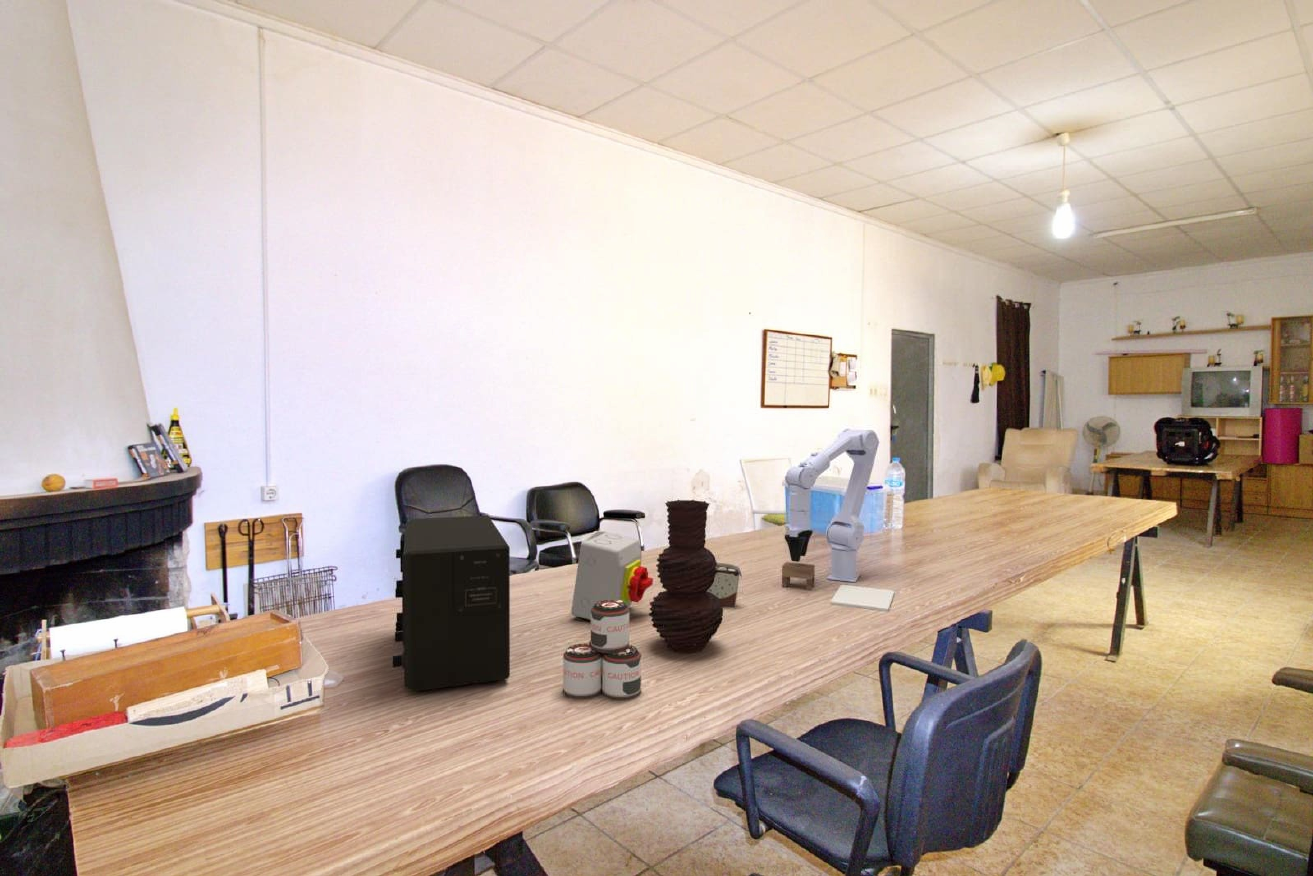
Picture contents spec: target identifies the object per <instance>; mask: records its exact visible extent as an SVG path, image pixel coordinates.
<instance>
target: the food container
mask: <svg viewBox="0 0 1313 876" xmlns="http://www.w3.org/2000/svg"><path fill="white" fill-rule="evenodd" d="M740 569H741V568H740V567H739V566H738V565H734V564H730V563H724V562H717V566H716V576H715V578H714V583H713V585H712V586H711V587H710V589H709V590H707V591H708V592H710V593H712V594H714V595H716V596H717V597H718V598H719V600H720V601H721V605H722V608H723V609H730V608H733V609H734V610H735V609H736V607H737V600H738V599H737V598H738V589H739V580H740V578H742V577H743V576H742V575H743V574H742V571H741V570H740ZM733 609H732V610H733Z"/></svg>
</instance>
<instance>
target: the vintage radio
mask: <svg viewBox="0 0 1313 876" xmlns="http://www.w3.org/2000/svg"><path fill="white" fill-rule="evenodd" d="M404 531H405V532H404V534H400V540H399V546H400V547H399V548H397V549H395V559H400V562H399V563H400V566H399V567H400V570H399V571H400V573H402V574H401V577H402V578H401V580H400V579H399V580H396V582H395V583H396V584H395V585H396V586H395V589H394V590H395V593H394V594H395V595H394V596H395V599H399V598H401V607H402V608H401V610H402V612H396V621H395V632H394V643H399V642H401V643H402V646H403V652H402V654H401V655H400V654H399V655H392V668H400V667H401V668H402V669H403V671H404V673H403V677H404V678H403V681H404V683H403V684H404V687H405V688H406V689H407V690H410V691H411V692H418V693H419V692H425V691H428V690H433V689H440V688H448V687H455V686H457V687H458V686H464V685H471V684H472V685H473V684H479V683H485V682H487V683H494V682H497V681H501V680H508V679H509V678H510V676H511V671H510V670H511V669H510V668H511V665H510V664H511V661H510V660H511V658H510V657H511V656H510V654H511V653H510V652H511V650H510V648H511V647H510V646H511V642H510V641H511V640H510V639H511V638H510V637H511V633H510V631H511V630H510V629H511V628H510V622H511V621H510V620H511V619H510V618H511V615H510V613H511V606H510V605H511V603H510V602H511V601H510V599H511V597H510V596H511V595H510V593H511V592H510V591H511V589H510V587H511V584H510V583H511V582H510V578H511V577H510V573H511V572H510V569H511V568H510V567H511V566H510V563H511V562H510V560H511V559H510V558H511V557H510V554H511V549H510V546H509V544H508V543H507V541H506V540H505V538H504V537H503V535H502V533H501V532H500V531H499V529H498V528H497V526H496V525H495V523H494V522H493V520H492V519H491V517H490V516H489V515H469V516H468V515H467V516H449V517H428V518H427V517H425V518H411V519H410V520H409V521H407V522H405V528H404Z"/></svg>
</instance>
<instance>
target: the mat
mask: <svg viewBox="0 0 1313 876" xmlns="http://www.w3.org/2000/svg"><path fill="white" fill-rule="evenodd" d="M895 593H896V591H895V590H890V589H889V590H888V589H883V588H882V589H881V588H873V587H864V586H855V585H847V584H841V585H840V586H839V588H838V589H837V591H836V592H835V594H834V595H833V597H832V598H831V600H830V602H829V603H830V605H836V606H845V607H852V608H860V609H869V610H875V611H885V612H889V610H890V607H891V605H892V601H893V598H894V596H895Z"/></svg>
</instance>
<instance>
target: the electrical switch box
mask: <svg viewBox="0 0 1313 876" xmlns="http://www.w3.org/2000/svg"><path fill="white" fill-rule="evenodd" d="M579 548H580V549H579V556H578V562H577V563H578V564H577V570H576V576H575V583H574V591H573V596H572V603H571V604H572V605H571V611H570V614H571V615H572V616H575V617H579V618H582V619H586V620H589V621H591V609H592V607H593V606H594V605H595V603H597V602H599V601H603V600H618V601H619V600H621V601H623V602H624V603H625V604H626V606H627V607H628V608H629V609H630V606H631V605H632V603H633V602H634V603H639V602H640V601H642V599H643V597H644V594H645V592H646V590H648V588H650V587H651V586H652V585H653V584H654V583H653V582H654V578H653V577H649V572H648V568H647V567H645V566H641V563H642V554H643V553H642V547H641V542H640V539H637V538H635V537H631V536H626V535H622V534H618V533H615V532H610V531H605V530H595V531H593V532H592V533H591V534H590V535H589V536H587V537H586V538H585V539H583V540H582V541H581V544H580V547H579Z"/></svg>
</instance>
